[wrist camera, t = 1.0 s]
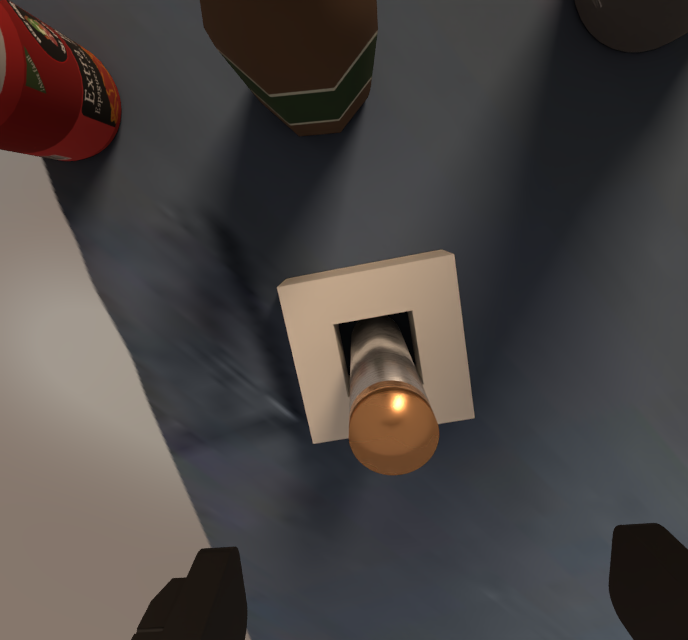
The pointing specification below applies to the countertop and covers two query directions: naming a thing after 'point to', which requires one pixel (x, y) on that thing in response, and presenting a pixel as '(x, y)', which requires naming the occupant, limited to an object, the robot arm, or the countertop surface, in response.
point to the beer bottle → (299, 55)
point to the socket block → (367, 302)
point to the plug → (388, 401)
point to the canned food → (52, 92)
